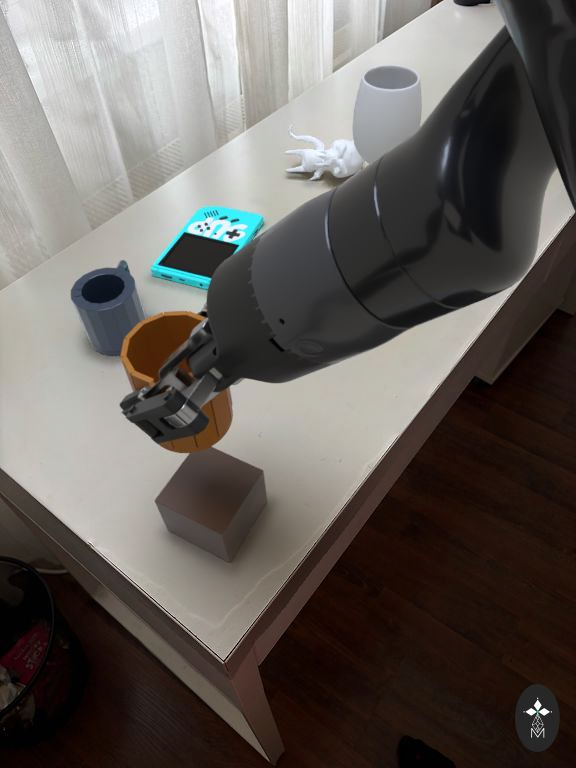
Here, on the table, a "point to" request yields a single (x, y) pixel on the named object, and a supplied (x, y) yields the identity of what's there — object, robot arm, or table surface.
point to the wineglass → (386, 109)
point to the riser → (213, 501)
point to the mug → (108, 307)
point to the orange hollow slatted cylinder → (157, 343)
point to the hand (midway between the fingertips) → (160, 374)
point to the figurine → (327, 157)
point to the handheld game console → (206, 244)
